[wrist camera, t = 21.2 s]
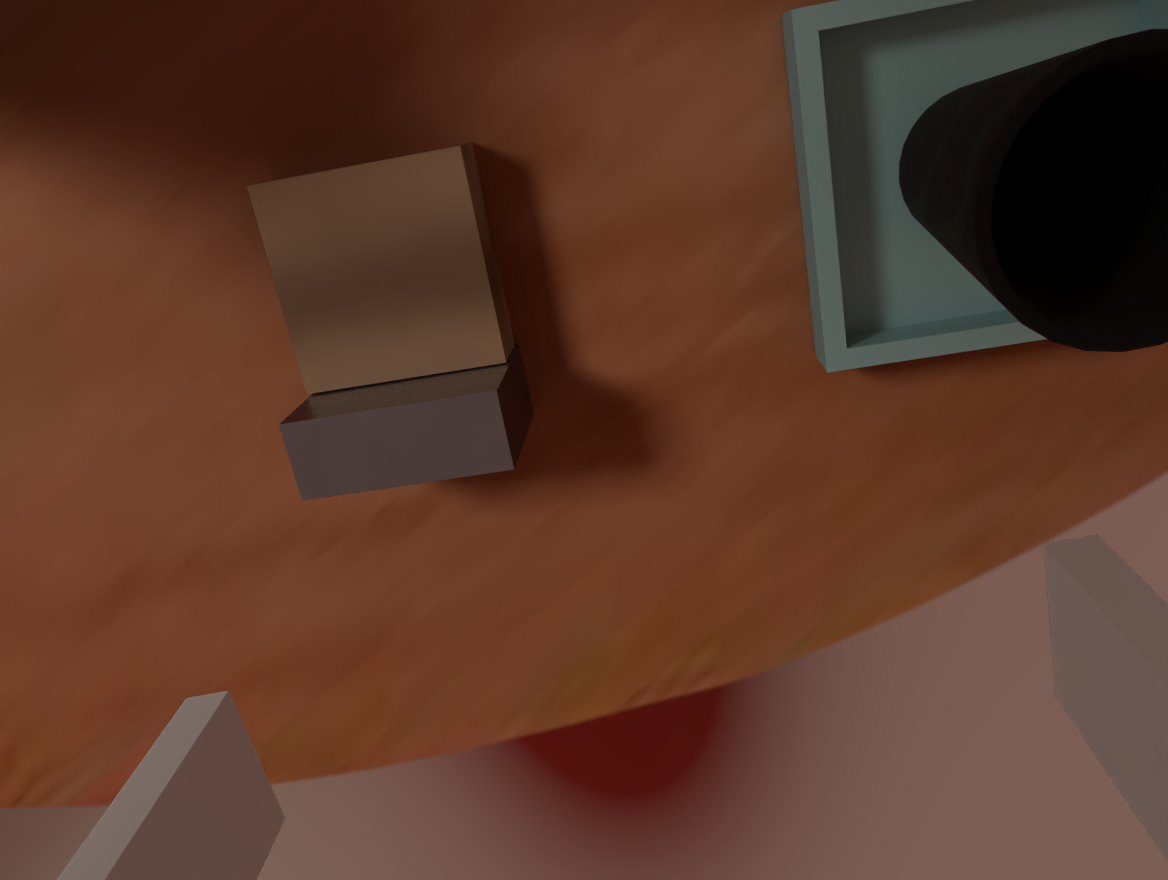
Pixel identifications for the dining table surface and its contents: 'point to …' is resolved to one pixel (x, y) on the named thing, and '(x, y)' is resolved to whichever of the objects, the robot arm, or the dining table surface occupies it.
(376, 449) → the block
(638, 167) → the dining table surface
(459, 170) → the tan square block
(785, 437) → the dining table surface
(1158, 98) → the cup
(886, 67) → the tray
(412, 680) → the dining table surface
